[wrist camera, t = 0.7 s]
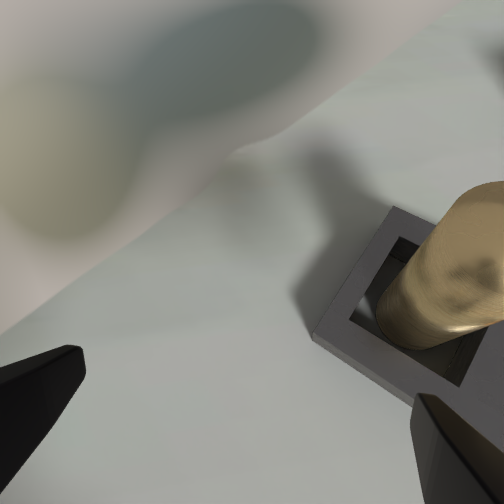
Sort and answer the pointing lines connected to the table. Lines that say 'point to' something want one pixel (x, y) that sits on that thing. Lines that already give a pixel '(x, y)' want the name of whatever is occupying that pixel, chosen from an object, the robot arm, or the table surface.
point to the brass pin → (451, 276)
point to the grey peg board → (402, 366)
